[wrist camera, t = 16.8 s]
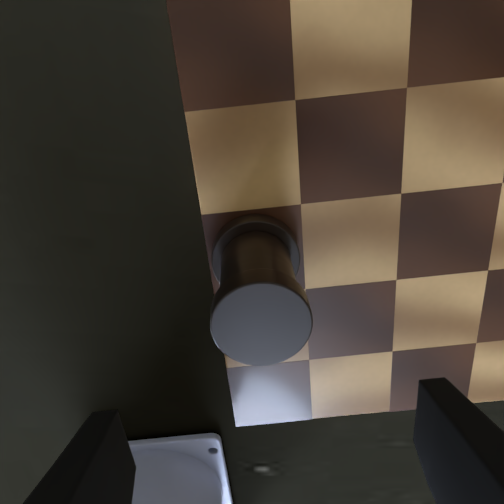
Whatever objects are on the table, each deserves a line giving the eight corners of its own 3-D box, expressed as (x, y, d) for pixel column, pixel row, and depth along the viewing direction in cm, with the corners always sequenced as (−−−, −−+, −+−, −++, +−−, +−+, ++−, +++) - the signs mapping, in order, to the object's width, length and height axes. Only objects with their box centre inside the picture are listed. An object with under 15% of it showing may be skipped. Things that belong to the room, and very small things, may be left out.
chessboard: (533, 384, 24) (544, 396, 23) (235, 413, 24) (235, 426, 23) (646, -70, 15) (670, -75, 14) (166, -15, 15) (163, -17, 14)
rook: (300, 285, 20) (319, 364, 15) (218, 293, 20) (213, 375, 15) (295, 208, 18) (316, 272, 13) (206, 218, 18) (196, 284, 14)
